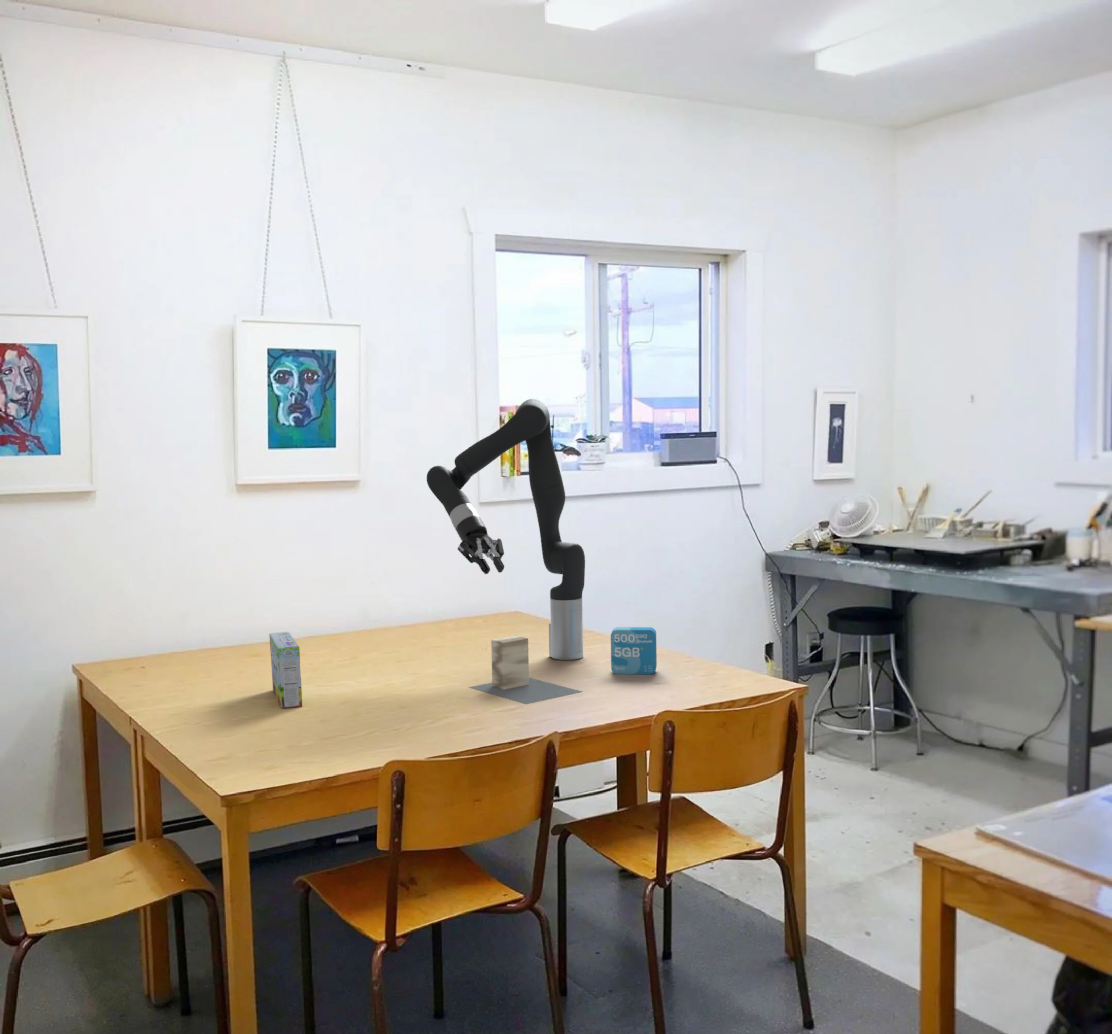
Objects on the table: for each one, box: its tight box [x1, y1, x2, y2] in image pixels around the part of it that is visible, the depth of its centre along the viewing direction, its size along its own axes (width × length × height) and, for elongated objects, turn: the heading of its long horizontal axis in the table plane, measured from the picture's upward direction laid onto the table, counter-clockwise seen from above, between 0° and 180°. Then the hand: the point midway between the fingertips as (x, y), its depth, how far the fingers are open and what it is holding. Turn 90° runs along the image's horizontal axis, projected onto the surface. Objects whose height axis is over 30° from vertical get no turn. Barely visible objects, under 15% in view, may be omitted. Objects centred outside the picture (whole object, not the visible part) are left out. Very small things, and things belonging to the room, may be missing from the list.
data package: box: [610, 626, 658, 675], centre depth 291 cm, size 12×4×12 cm, turn 83°
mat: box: [468, 677, 584, 705], centre depth 273 cm, size 24×18×1 cm
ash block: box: [490, 635, 530, 690], centre depth 278 cm, size 5×8×12 cm, turn 129°
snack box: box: [269, 631, 303, 710], centre depth 270 cm, size 21×6×15 cm, turn 21°
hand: (494, 571), depth 291 cm, fingers open, 4 cm apart
